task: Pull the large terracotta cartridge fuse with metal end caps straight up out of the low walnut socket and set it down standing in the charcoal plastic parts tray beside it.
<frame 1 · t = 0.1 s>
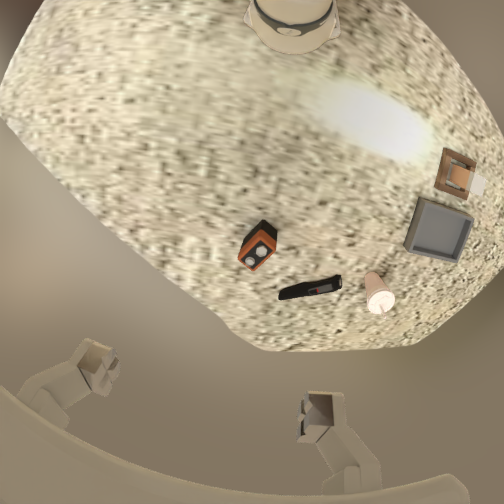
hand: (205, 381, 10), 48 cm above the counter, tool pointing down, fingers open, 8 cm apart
parts tray: (437, 228, 53), on the counter
battery: (260, 234, 60), on the counter
smoothie: (371, 277, 61), on the counter
electric trimmer: (311, 285, 64), on the counter
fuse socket: (454, 173, 46), on the counter
fuse: (454, 173, 46), resting in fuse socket
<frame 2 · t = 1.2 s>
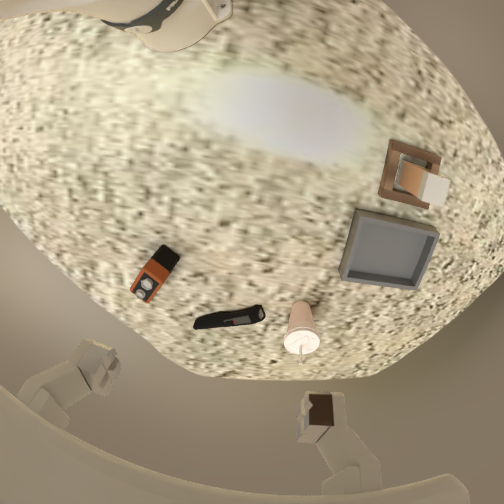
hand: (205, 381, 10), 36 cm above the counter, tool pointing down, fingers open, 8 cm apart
parts tray: (386, 247, 45), on the counter
battery: (164, 260, 52), on the counter
smoothie: (300, 307, 53), on the counter
electric trimmer: (230, 314, 57), on the counter
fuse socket: (408, 173, 38), on the counter
fuse: (408, 173, 38), resting in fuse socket
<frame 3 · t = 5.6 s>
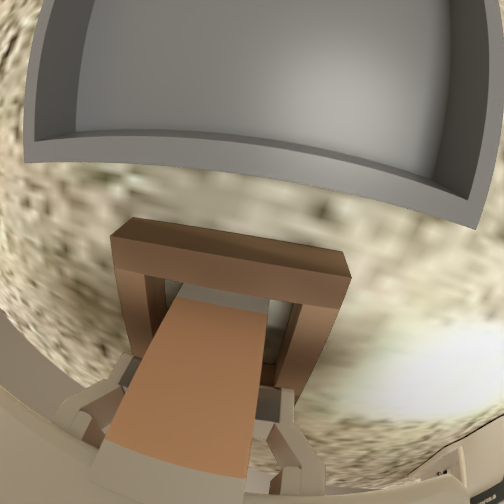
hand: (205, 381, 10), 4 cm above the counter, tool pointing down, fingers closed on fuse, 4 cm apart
parts tray: (262, 10, 7), on the counter
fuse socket: (224, 317, 14), on the counter
fuse: (224, 316, 14), resting in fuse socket, touching gripper
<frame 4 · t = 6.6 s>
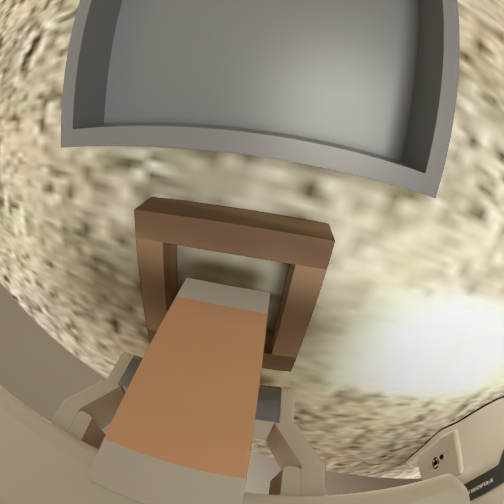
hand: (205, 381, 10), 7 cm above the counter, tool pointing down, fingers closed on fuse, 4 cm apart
parts tray: (261, 27, 9), on the counter
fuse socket: (229, 284, 16), on the counter
fuse: (224, 316, 14), point 3 cm above the counter, touching gripper
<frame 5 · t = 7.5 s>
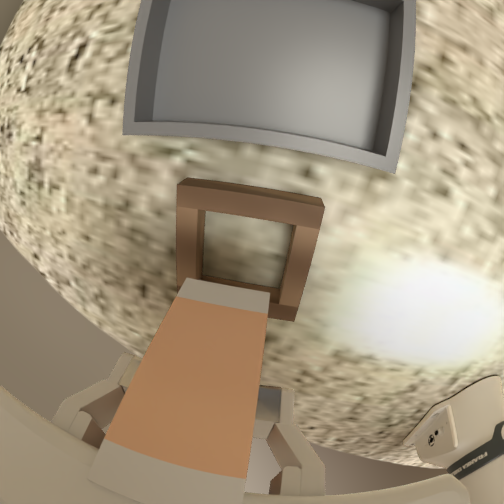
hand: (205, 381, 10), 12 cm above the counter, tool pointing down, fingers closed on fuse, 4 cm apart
parts tray: (271, 54, 14), on the counter
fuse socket: (245, 247, 20), on the counter
fuse: (224, 316, 14), point 8 cm above the counter, touching gripper
when the fingers open (7 cm above the counter, at t = 13.7 s): fuse drops 1 cm, resting on parts tray.
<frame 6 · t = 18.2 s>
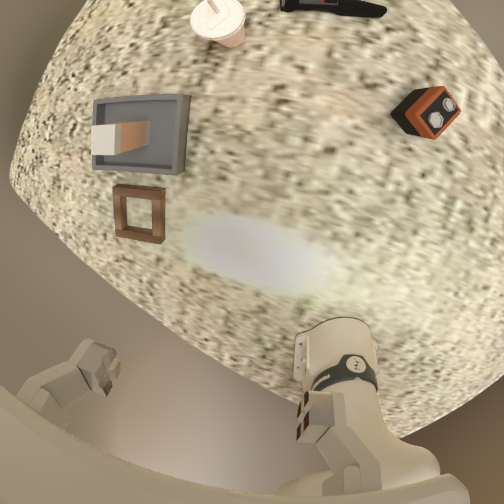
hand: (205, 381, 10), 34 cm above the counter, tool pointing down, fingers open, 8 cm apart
parts tray: (142, 131, 38), on the counter
battery: (410, 111, 32), on the counter
smoothie: (232, 37, 30), on the counter
electric trimmer: (330, 6, 26), on the counter
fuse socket: (141, 211, 45), on the counter
fuse: (139, 132, 37), point 1 cm above the counter, touching parts tray
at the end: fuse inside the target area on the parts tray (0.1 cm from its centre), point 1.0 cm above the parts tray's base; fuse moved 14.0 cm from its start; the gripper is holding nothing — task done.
